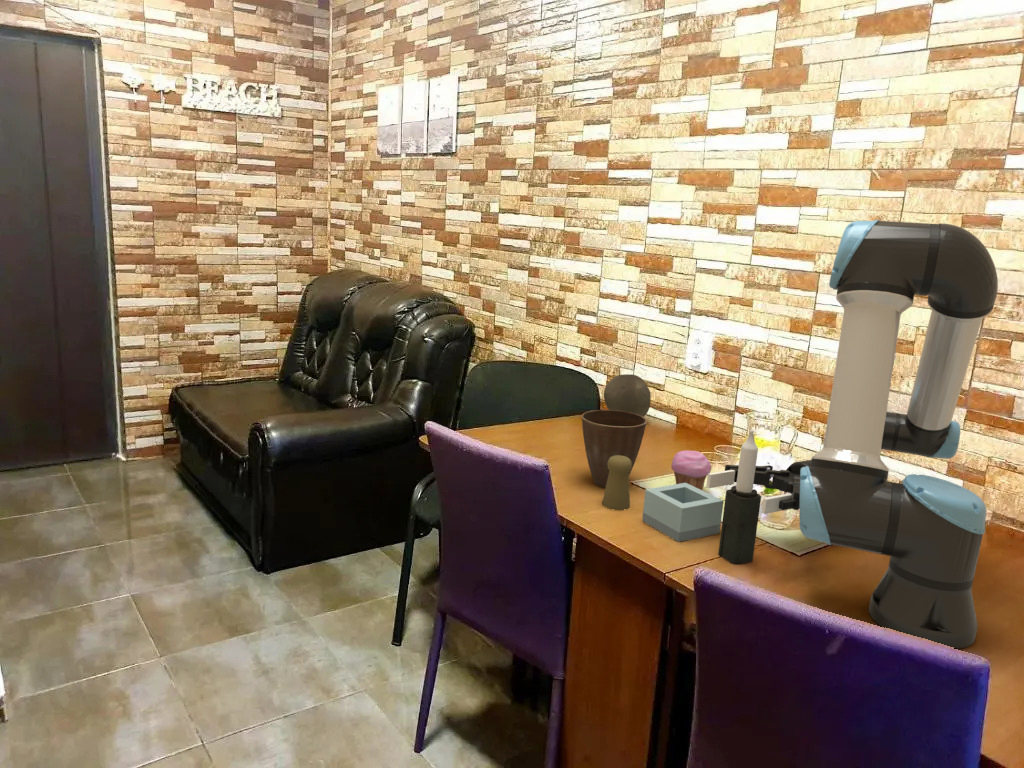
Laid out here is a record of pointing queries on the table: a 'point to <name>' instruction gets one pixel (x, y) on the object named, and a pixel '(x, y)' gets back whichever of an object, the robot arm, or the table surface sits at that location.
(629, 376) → the dark grey round ball
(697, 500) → the holder
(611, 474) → the olive pawn
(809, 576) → the table surface
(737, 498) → the candle
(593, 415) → the plant pot
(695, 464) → the cupcake
